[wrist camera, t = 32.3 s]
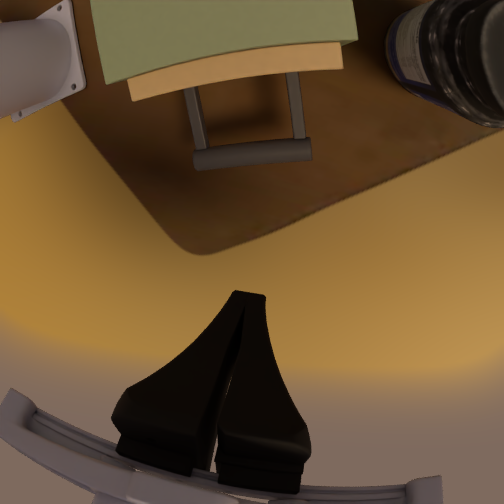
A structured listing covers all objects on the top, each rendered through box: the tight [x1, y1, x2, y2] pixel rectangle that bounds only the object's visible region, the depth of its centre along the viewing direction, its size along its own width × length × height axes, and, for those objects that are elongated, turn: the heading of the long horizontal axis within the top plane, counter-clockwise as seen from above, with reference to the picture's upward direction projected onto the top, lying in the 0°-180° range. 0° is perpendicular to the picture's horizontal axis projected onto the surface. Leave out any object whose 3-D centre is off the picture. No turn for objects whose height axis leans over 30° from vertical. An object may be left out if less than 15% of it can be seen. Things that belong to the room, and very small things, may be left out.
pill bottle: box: [384, 0, 504, 128], centre depth 10 cm, size 6×6×11 cm
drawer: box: [127, 42, 343, 171], centre depth 12 cm, size 17×9×6 cm, turn 9°
